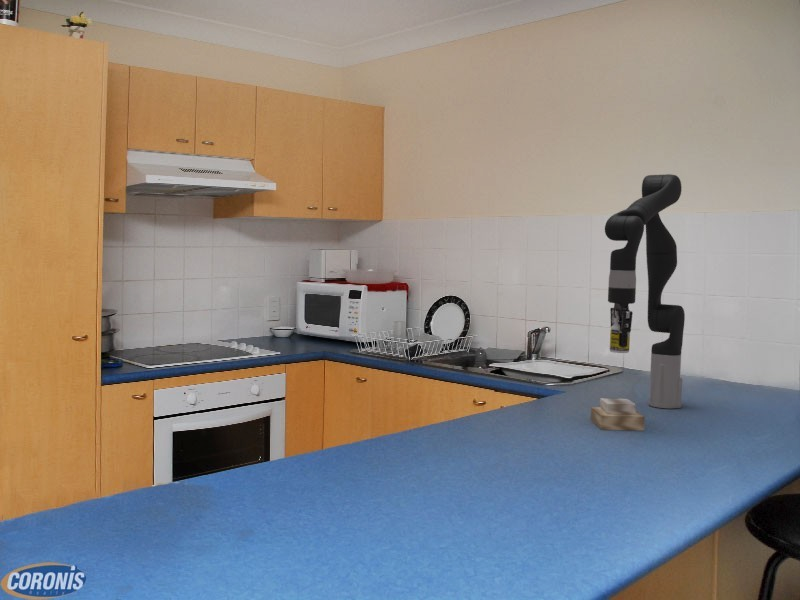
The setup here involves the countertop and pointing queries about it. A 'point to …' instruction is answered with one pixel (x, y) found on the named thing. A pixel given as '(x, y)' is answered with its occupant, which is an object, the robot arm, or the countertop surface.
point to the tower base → (617, 415)
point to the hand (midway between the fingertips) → (619, 345)
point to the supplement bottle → (617, 339)
